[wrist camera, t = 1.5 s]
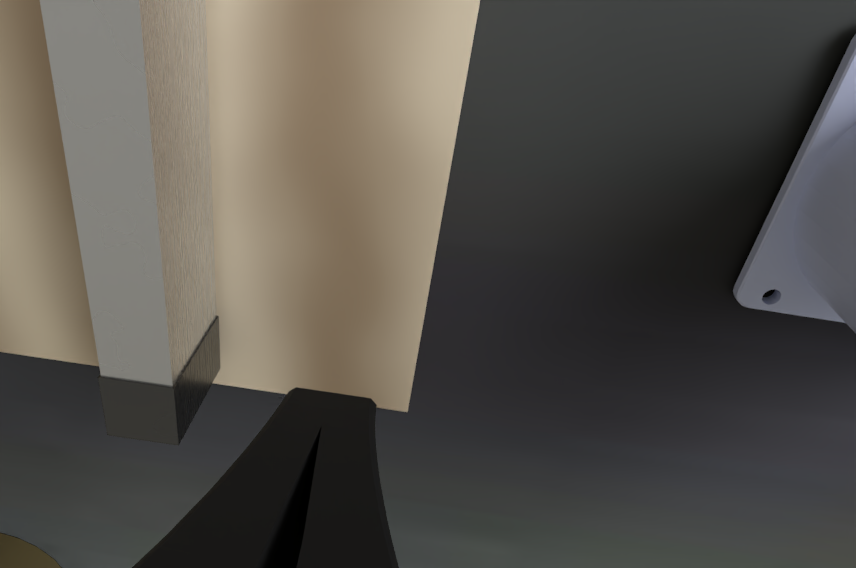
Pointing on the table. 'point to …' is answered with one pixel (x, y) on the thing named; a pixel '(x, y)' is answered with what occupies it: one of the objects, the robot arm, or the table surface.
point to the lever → (141, 201)
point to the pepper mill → (23, 554)
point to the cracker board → (268, 189)
